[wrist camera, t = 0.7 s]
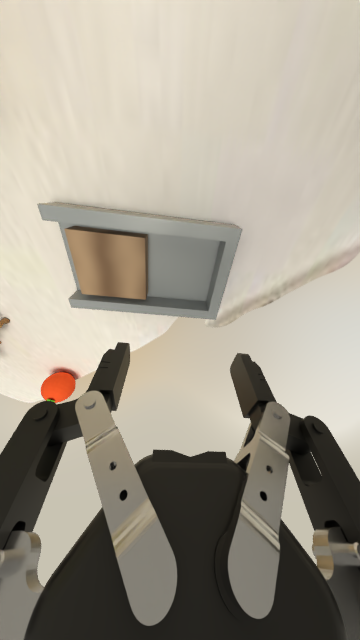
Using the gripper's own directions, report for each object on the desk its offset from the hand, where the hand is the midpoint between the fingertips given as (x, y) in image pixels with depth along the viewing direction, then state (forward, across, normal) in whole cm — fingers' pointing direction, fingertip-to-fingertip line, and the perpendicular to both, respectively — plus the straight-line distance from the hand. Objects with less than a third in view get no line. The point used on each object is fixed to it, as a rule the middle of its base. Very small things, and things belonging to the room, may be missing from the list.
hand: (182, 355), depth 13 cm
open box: (+18, +5, 0) cm, 19 cm away
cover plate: (+18, +10, 0) cm, 21 cm away
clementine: (+19, +26, +33) cm, 46 cm away
